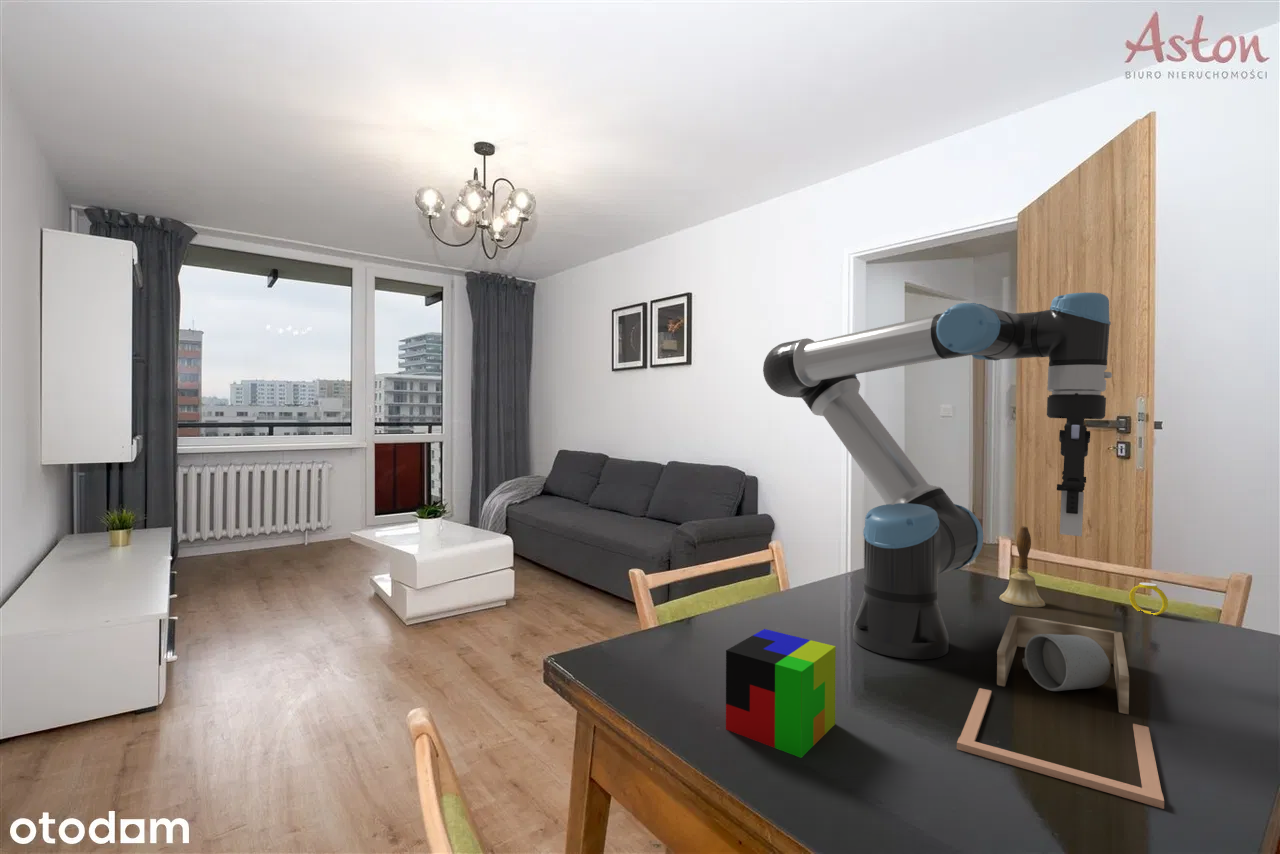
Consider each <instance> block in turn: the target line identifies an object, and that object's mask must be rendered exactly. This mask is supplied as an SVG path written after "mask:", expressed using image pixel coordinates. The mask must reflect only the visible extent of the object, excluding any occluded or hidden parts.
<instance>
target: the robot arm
mask: <svg viewBox="0 0 1280 854" xmlns="http://www.w3.org/2000/svg"><path fill="white" fill-rule="evenodd" d="M1110 325H1112V323H1111V321H1110V300H1109V297H1108V296H1107V295H1105V294H1103V293H1100V292H1073V293H1066V294H1062V295H1057V296H1055V297H1053V299H1052V300H1051V305H1050V306H1049V309H1046V310H1041V311H1032V312H1031V311H1030V312H1020V313H1019V312H1018V313H1017V312H1016V313H1014V312H1013V313H1012V312H1008V311H1004V310H1000V309H996V308H993V307H988V306H987V305H984V304H982V303H975V302H961V303H956V304H954V305H951V307H949V308H947V309H946V310H945V311H944V312H942V313H936V314H931V315H927V316H923V317H919V318H915V319H910V320H905V321H900V322H896V323H893V324H887V325H883V326H877V327H874V328H869V329H865V330H861V331H857V332H851V333H848V334H843V335H839V336H833V337H829V338H825V339H821V340H816V341H814V340H813V339H812V338H808V337H807V338H802V339H801V338H800V339H798V340H797V339H796V340H792V341H786V342H783V343H780V344H778V345H776V346H775V347H772V348H771V350H770V351H769V352H768V354H767V355H766V357H765V358H764V362H763V369H762V374H763V376H764V378H763V379H764V380H765V382H766V384H767V386H768V387H769V388H770V389H771V390H772V391H773V392H775V394H778V395H780V396H782V397H786V398H800V399H802V400H803V402H804V403H805V404H806V405H807V407H808V408H809V410H810V411H811V412H812V414H813V415H815V416H820V417H823V418H825V420H826V421H827V423H828V424H829V426H830V427H831V429H832V430H833V432H834V433H835V434H836V436H837V437H838V439H839V440H840V441H841V442H842V444H843V446H844V447H845V448H846V449H847V451H848V452H849V454H850V455H851V457H852V458H853V459H854V461H855V463H856V464H857V466H858V467H859V468H860V469H861V471H862V473H863V474H864V475H865V476H866V478H867V479H868V481H869V482H870V483H871V485H872V486H873V489H875V491H876V492H877V494H879V496H880V498H881V499H882V500H883V502H884V504H883V505H877V506H876V507H873V508H872V509H869V510H868V511H867V513H866V515H865V519H864V528H863V531H862V532H863V534H862V535H863V538H864V539H863V542H864V543H863V545H864V546H863V547H864V548H863V551H864V552H863V556H864V558H863V559H864V560H863V561H864V562H863V563H864V564H863V568H864V569H863V571H864V572H863V573H864V574H863V575H864V577H863V580H864V582H863V585H864V586H863V596H862V599H861V602H860V605H859V607H858V608H859V609H858V611H857V614H856V617H855V619H854V622H853V627H852V638H853V640H854V642H855V643H856V644H857V645H859V646H860V647H862V648H864V649H867V650H868V651H871V652H874V653H876V654H880V655H883V656H888V657H893V658H899V659H906V660H907V659H908V660H931V659H936V658H941V657H943V656H945V655H947V654H948V652H949V650H950V649H949V644H950V643H949V642H950V641H949V639H950V638H949V633H948V630H947V627H946V625H945V622H944V619H943V615H942V613H941V612H942V611H941V609H940V607H939V604H938V586H939V585H938V580H939V579H938V578H939V576H938V575H940V574H943V573H947V572H949V571H954V570H959V569H962V568H963V567H964V566H966V565H969V564H970V563H972V562H973V561H974V560H975V559H976V558H977V557H978V556H979V555H980V553H981V550H982V548H983V544H984V543H983V542H984V530H983V527H982V524H981V522H980V520H979V519H978V517H977V516H976V515H975V514H974V513H973V511H971V510H970V509H968V508H966V507H964V506H962V505H959V504H956V503H954V502H953V501H952V499H951V498H950V496H949V495H948V494H947V493H946V491H945V490H944V489H943V488H942V487H941V486H936V485H931V484H929V483H928V482H927V481H926V479H925V477H923V475H922V474H921V473H920V471H919V470H918V469H917V468H916V466H915V464H914V463H913V462H912V461H911V459H909V457H908V455H906V453H905V451H904V450H902V448H901V446H900V445H899V443H897V441H896V440H895V439H894V438H893V436H892V435H891V433H890V432H889V430H887V428H886V427H885V425H884V424H883V423H882V422H881V420H880V419H879V418H878V416H877V415H876V414H875V413H874V411H873V410H872V409H871V407H870V406H869V405H868V404H867V402H866V401H865V399H864V398H863V397H862V396H861V394H860V388H861V382H860V381H859V379H858V378H857V377H858V376H857V374H863V373H869V372H870V373H871V372H876V371H881V370H889V369H892V368H898V367H905V366H911V365H916V364H922V363H928V362H934V361H940V360H948V359H949V360H950V359H954V358H955V359H956V358H960V357H968V356H972V358H973V359H976V360H979V361H981V360H983V361H984V360H987V361H999V360H1010V359H1011V360H1012V359H1015V360H1016V359H1027V358H1028V359H1030V358H1048V367H1047V386H1046V387H1047V388H1046V389H1047V392H1051V394H1049V395H1048V397H1047V398H1046V402H1047V403H1046V417H1048V418H1049V419H1066V423H1065V424H1064V425H1063V426H1064V427H1063V429H1060V430H1059V435H1058V440H1059V442H1060V455H1061V456H1063V471H1061V474H1062V476H1061V479H1062V482H1061V484H1060V483H1059V484H1058V483H1057V484H1056V491H1060V492H1061V494H1060V515H1059V516H1060V517H1059V520H1060V521H1059V523H1060V524H1059V535H1065V536H1072V537H1075V536H1076V537H1083V523H1084V522H1083V521H1084V516H1083V515H1084V497H1085V496H1084V494H1085V493H1084V491H1085V488H1086V487H1085V486H1086V483H1087V476H1085V457H1087V456H1088V454H1089V443H1090V442H1091V431H1090V430H1087V429H1088V427H1087V426H1086V424H1085V420H1103V419H1104V418H1106V411H1107V409H1106V405H1107V397H1106V396H1105V395H1102V394H1101V393H1102V392H1103V393H1104V392H1105V391H1107V390H1106V389H1107V380H1106V379H1111V378H1112V377H1113V373H1112V372H1111V371H1106V370H1107V369H1108V354H1109V353H1108V352H1109V342H1110V341H1109V340H1110V339H1109V338H1110V329H1111V328H1110Z"/></svg>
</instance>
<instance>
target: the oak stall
mask: <svg viewBox="0 0 1280 854" xmlns="http://www.w3.org/2000/svg"><path fill="white" fill-rule="evenodd" d="M1038 634H1058V635H1080V636H1085V637H1088V638H1091V639H1093V640H1095V641H1096V642H1097V643H1099V644H1100V645H1101V646H1102V647H1103V648H1104V650H1105V651H1106V653H1107V655H1108V657H1109V660H1110V664H1111V665H1113V670H1114V671H1113V672H1114V678H1115V680H1114V682H1115V689H1116V699H1117V707H1118V713H1120V714H1125V715H1130V714H1129V712H1130V711H1129V710H1130V708H1129V707H1130V673H1129V668H1128V667H1129V666H1128V662H1127V661H1128V660H1127V656H1126V650H1125V644H1124V639H1123V632H1121V631H1116V630H1109V629H1105V628H1104V629H1102V628H1097V627H1092V626H1084V625H1080V624H1079V625H1078V624H1072V623H1066V622H1062V621H1060V622H1059V621H1055V620H1050V619H1049V620H1047V619H1043V618H1037V617H1036V618H1035V617H1030V616H1023V615H1019V614H1018V615H1017V614H1010V616H1009V619H1008V622H1007V624H1006V627H1005V629H1004V633H1003V634H1002V637H1001V640H1000V643H999V645H998V648H997V651H996V654H997V655H996V656H997V657H996V664H997V665H996V685H997V686H999V687H1006V684H1007V681H1008V677H1009V675H1010V674H1009V673H1010V671H1011V668H1012V664H1013V661H1014V658H1015V654H1016V651H1017V647H1019V648H1025V647H1026V644H1027V642H1028V641H1029V639H1030V638H1032V637H1033V636H1035V635H1038Z"/></svg>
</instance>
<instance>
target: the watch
mask: <svg viewBox="0 0 1280 854" xmlns="http://www.w3.org/2000/svg"><path fill="white" fill-rule="evenodd" d="M1140 588H1141V589H1142V588H1143V589H1147V590H1153V591H1154V592H1156V593H1157V594H1158V596H1159V597H1160V599H1161V602H1162V603H1161V604H1162V607H1161V608H1160V610H1159V611H1158V612H1155V613H1151V612H1152V611H1151V610H1146V609H1143V608H1141V607H1140V606H1139V605H1138V603H1137V600H1136V599H1135V598H1136V597H1135V596H1136V592H1137V590H1139V589H1140ZM1128 598H1129V601H1130V604H1131V606H1132V607H1133V608H1134V609H1135V610H1136V611H1137V612H1138V611H1140V610H1141V611H1143V612H1144V613H1143V614H1147V615H1151V614H1153V615H1152V616H1154V615H1156V616H1159V615H1161V614H1164V613H1165V612H1166V610H1167V609H1168V606H1169V601H1168V600H1169V599H1168V597H1167V596H1166V594H1165V592H1164V591H1163V590H1162V589H1161V588H1159V587H1158V584H1156V583H1151V582H1139V584H1138V585H1136V586H1133V587H1132V588H1131V590H1130V591H1129V596H1128Z"/></svg>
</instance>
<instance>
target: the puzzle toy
mask: <svg viewBox="0 0 1280 854" xmlns="http://www.w3.org/2000/svg"><path fill="white" fill-rule="evenodd" d="M836 648H837V646H836V645H831V644H829V643H828V644H827V643H824V642H819V641H815V640H811V639H808V638H804V637H803V638H802V637H799V636H795V635H792V634H786V633H782V632H779V631H775V630H771V629H766V628H764V629H762V630H760V631H758V632H756V633H755V634H752V635H751V636H749V637H748V638H746V639H744V640H741V641H740V642H738V643H737V644H734V645H733V646H732V647H729V648H728V649H726V650H725V658H726V659H725V731H729V732H731V733H733V734H737V735H740V736H742V737H745V738H747V739H751V740H753V741H755V742H759V743H761V744H763V745H766V746H769V747H771V748H774V749H777V750H779V751H781V752H785V753H787V754H790V755H793V756H796V757H798V758H800V759H801V758H802V759H803V757H804V756H805V755H806V754H807V753H808V752H809V751H810V750H811V749H812V748H813V747H814V746H815V745H816V744H817V743H818V742H819V741H820V740H821V739H822V738H823V737H824V736H825V735H826V734H827V733H828V732H829V731H830V730H831V729H832V728H833V727H835V725H836V667H837V665H836V664H837V663H836V662H837V661H836V660H837V659H836V652H837V651H836V650H837V649H836Z"/></svg>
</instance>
